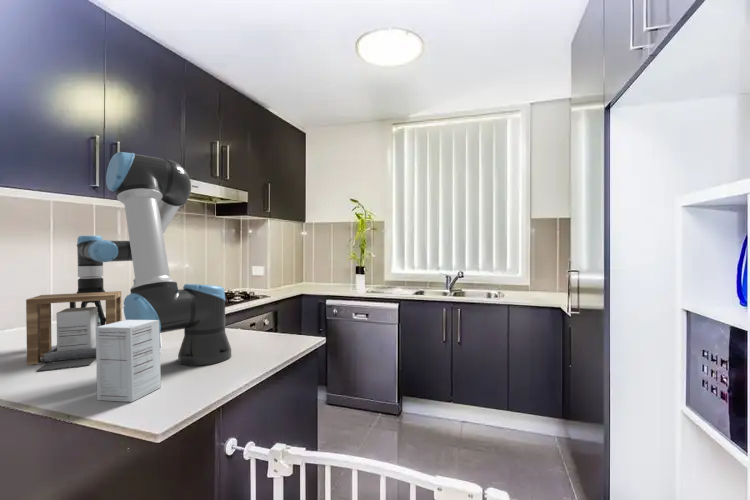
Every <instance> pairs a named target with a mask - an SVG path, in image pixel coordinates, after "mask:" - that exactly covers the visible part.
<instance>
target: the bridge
mask: <svg viewBox="0 0 750 500" xmlns="http://www.w3.org/2000/svg"><path fill="white" fill-rule="evenodd" d="M82 301H100V302H101V301H105V318H106V322H105V325H107V324H111V323H115V322H119V321H123V319H122V318H123V317H122V314H123V313H122V291H121V290H118V291H117V290H115V291H105V292H94V293H77V292H75V293H74V292H73V293H59V294H58V293H56V294H41V295H37V296H33V297H30V298H28V299H27V298H26V300H25V309H26V310H25V313H26V314H25V316H26V317H25V318H26V319H25V323H26V324H25V326H26V365H27V366H29V365H31V366H32V365H39V364H38V362H40V361H41V360H42V359H41V358H42V357H44V354H45V353H46V352H47V351H49V350H50V349H52V348H53V346H52V304H60V303H61V304H62V303H70V302H76V303H82Z"/></svg>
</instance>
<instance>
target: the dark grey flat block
mask: <svg viewBox="0 0 750 500" xmlns="http://www.w3.org/2000/svg"><path fill="white" fill-rule="evenodd" d="M95 360H96V357H85V358H76V359H67V360H58V361H49V362H45V363H44V364H43V365H41V366H40V367H39V368H38V369H37V370H36V373H40V372H47V371H55V370H56V371H57V370H65V369H72V368H74V369H75V368H81V367H82V368H83V367H90V366H91V364H93V362H94V361H95Z"/></svg>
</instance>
